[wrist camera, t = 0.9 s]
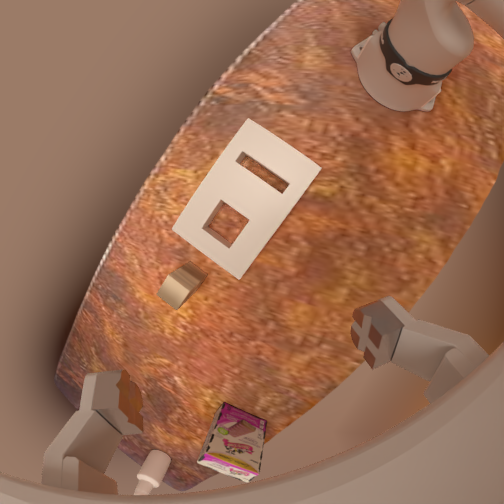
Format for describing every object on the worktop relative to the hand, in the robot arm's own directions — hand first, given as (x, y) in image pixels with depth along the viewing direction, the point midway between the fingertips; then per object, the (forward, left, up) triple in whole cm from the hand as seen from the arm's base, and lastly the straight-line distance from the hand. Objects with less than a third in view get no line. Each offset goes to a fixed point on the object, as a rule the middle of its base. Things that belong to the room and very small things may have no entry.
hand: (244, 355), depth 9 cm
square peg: (+15, -8, -39) cm, 43 cm away
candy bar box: (+37, +18, -39) cm, 57 cm away
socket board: (-2, -8, -39) cm, 40 cm away
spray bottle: (+71, +12, -39) cm, 82 cm away
